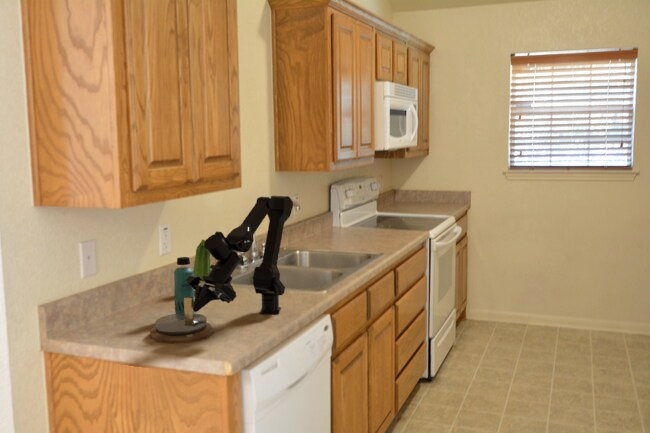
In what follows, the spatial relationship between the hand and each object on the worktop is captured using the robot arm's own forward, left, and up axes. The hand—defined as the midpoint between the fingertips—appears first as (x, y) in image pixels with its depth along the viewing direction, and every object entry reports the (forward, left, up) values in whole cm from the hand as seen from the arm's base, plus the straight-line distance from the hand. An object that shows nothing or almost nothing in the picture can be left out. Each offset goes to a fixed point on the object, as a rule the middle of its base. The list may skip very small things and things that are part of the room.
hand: (194, 311), depth 197 cm
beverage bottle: (-21, -8, -8) cm, 24 cm away
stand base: (-4, -5, -8) cm, 10 cm away
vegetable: (-56, -10, -8) cm, 58 cm away
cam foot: (-4, -5, -6) cm, 9 cm away
